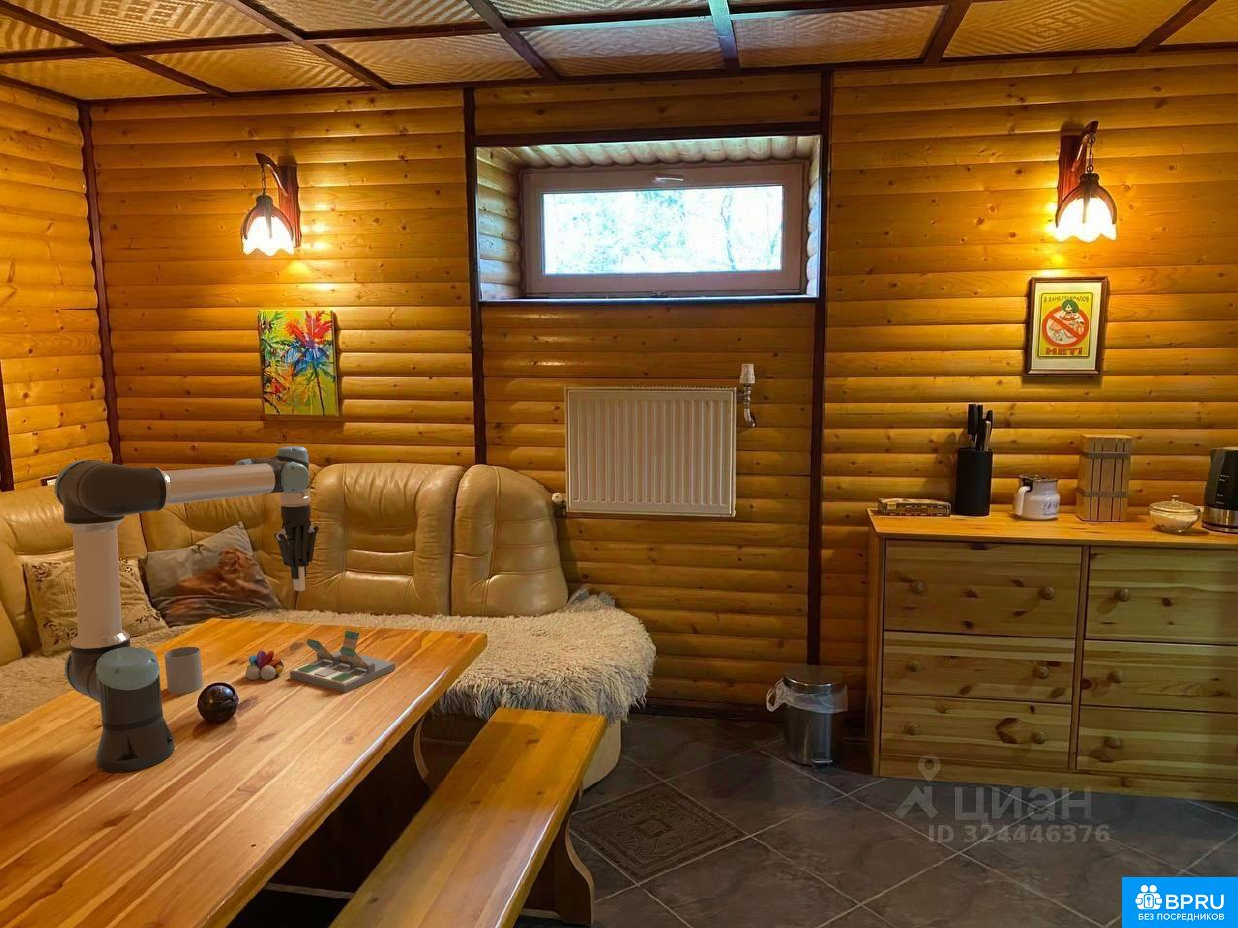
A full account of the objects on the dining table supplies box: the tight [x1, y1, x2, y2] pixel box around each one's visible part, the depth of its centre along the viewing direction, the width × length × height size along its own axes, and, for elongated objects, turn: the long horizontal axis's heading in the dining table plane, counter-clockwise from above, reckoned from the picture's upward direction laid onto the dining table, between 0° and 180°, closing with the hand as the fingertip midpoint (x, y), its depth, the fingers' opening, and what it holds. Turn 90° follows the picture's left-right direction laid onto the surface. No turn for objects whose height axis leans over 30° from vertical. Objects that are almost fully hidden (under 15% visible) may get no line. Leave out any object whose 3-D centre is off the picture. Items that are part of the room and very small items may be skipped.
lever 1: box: [305, 638, 333, 661], centre depth 240 cm, size 1×4×9 cm
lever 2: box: [338, 630, 360, 665], centre depth 240 cm, size 1×4×9 cm, turn 60°
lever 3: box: [339, 646, 367, 669], centre depth 234 cm, size 1×4×9 cm
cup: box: [164, 646, 204, 696], centre depth 230 cm, size 8×8×10 cm
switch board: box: [289, 650, 396, 694], centre depth 239 cm, size 18×21×4 cm
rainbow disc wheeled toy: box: [245, 649, 285, 681], centre depth 238 cm, size 8×10×7 cm
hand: (299, 589), depth 237 cm, fingers closed
